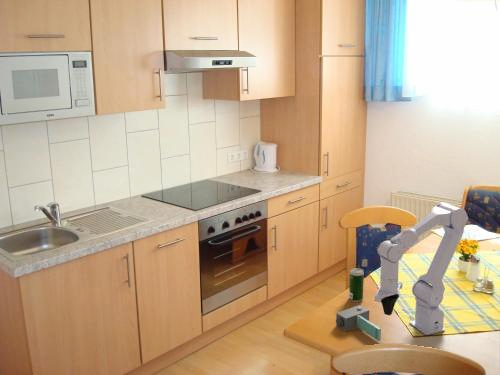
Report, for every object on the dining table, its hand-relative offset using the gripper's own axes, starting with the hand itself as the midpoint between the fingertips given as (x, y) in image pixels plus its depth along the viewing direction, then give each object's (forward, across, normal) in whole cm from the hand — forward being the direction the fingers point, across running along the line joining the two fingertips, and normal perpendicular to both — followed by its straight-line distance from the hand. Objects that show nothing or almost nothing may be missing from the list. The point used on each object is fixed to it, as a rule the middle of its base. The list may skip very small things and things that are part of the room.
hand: (388, 314), depth 183 cm
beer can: (+8, -16, -23) cm, 29 cm away
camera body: (+8, +2, -13) cm, 15 cm away
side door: (+7, +5, -5) cm, 10 cm away
